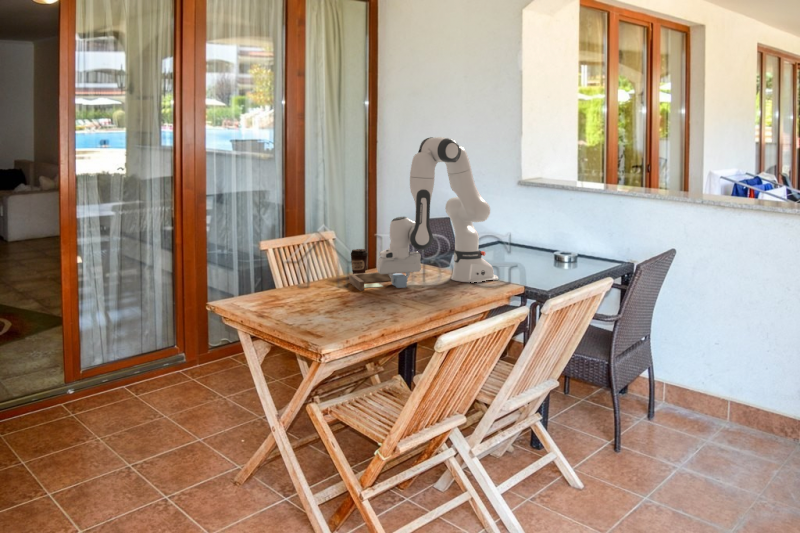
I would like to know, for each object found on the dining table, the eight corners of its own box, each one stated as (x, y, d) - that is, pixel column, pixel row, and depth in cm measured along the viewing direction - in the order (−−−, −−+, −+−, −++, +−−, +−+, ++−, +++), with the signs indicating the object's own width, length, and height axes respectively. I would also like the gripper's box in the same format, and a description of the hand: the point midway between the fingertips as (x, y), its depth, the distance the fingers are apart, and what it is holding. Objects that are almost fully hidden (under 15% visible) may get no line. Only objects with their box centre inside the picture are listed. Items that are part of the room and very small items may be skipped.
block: (401, 283, 350) (401, 273, 349) (406, 287, 343) (406, 276, 342) (391, 284, 349) (391, 273, 348) (397, 287, 341) (397, 277, 340)
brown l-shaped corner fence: (393, 279, 359) (393, 271, 358) (406, 287, 343) (406, 278, 342) (348, 282, 352) (348, 274, 351) (359, 290, 335) (359, 281, 335)
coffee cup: (365, 278, 362) (365, 251, 359) (348, 277, 364) (348, 250, 361) (369, 274, 370) (369, 248, 368) (353, 273, 372) (353, 248, 369)
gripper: (418, 250, 349) (417, 279, 352) (376, 252, 342) (376, 282, 345) (423, 252, 343) (422, 282, 346) (380, 254, 336) (380, 285, 339)
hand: (399, 282), depth 345 cm, fingers closed on block, 5 cm apart
